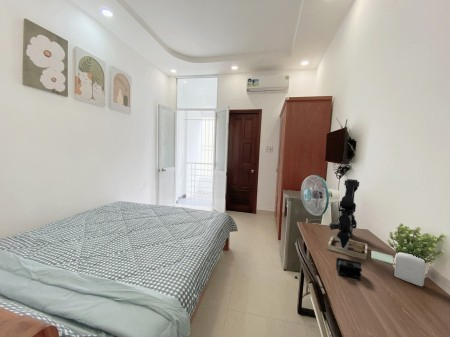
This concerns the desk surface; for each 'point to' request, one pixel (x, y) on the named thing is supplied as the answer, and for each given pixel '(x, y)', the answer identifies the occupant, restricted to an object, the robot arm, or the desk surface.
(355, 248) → the oak cube
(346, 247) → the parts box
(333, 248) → the corral
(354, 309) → the desk surface
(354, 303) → the desk surface
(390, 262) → the pad
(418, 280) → the photo printer
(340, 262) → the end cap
